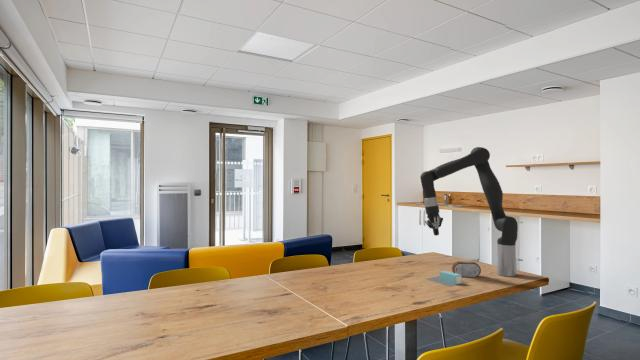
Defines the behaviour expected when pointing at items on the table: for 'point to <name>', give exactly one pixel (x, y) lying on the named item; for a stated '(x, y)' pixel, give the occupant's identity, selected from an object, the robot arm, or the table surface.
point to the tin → (466, 269)
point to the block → (450, 277)
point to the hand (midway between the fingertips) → (436, 235)
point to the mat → (437, 279)
